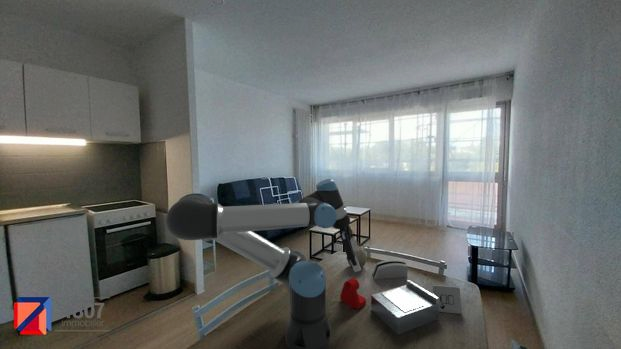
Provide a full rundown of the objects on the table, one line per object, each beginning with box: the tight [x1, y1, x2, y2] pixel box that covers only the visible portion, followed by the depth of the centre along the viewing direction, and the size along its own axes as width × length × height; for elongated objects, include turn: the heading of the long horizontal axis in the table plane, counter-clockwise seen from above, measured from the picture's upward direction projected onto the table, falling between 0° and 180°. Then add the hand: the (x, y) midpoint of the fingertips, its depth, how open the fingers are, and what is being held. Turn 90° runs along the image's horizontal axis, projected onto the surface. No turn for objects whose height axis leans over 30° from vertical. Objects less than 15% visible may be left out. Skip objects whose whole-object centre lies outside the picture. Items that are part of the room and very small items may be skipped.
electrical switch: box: [432, 284, 463, 315], centre depth 89 cm, size 9×5×9 cm, turn 78°
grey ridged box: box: [370, 279, 440, 336], centre depth 86 cm, size 19×14×8 cm
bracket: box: [339, 277, 367, 310], centre depth 94 cm, size 9×6×10 cm
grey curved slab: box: [371, 259, 409, 280], centre depth 114 cm, size 17×5×10 cm, turn 96°
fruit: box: [346, 239, 369, 269], centre depth 124 cm, size 10×12×15 cm
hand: (357, 259), depth 97 cm, fingers open, 13 cm apart
